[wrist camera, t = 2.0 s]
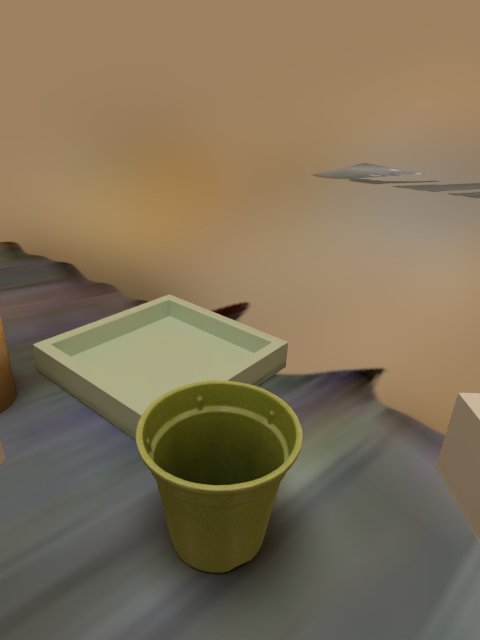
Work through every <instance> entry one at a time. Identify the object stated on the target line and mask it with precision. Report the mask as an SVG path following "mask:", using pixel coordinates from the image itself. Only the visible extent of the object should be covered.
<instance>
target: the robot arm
mask: <svg viewBox="0 0 480 640" xmlns="http://www.w3.org/2000/svg"><path fill="white" fill-rule="evenodd" d="M4 459H5V456H4V452H3V448H2V444H1V440H0V465H1V464H2V462H3V461H4ZM436 468H437V470H438V471H439V473H440V475H441V477H442V478H443V480H444V482H445V484H446V485H447V487H448V489H449V491H450V493H451V494H452V496H453V498H454V500H455V501H456V503H457V505H458V507H459V508H460V510H461V512H462V514H463V516H464V517H465V519H466V521H467V523H468V524H469V526H470V528H471V530H472V531H473V533H474V535H475V537H476V538H477V540H478V542H479V544H480V393H458V396H457V399H456V402H455V406H454V409H453V413H452V416H451V419H450V422H449V426H448V429H447V432H446V435H445V439H444V442H443V445H442V449H441V452H440V455H439V459H438V462H437V465H436Z"/></svg>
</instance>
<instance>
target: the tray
mask: <svg viewBox="0 0 480 640" xmlns="http://www.w3.org/2000/svg"><path fill="white" fill-rule="evenodd" d="M287 347H288V342H286V341H284V340H281V339H279V338H276V337H274V336H271V335H269V334H266V333H264V332H262V331H259V330H256V329H254V328H252V327H249V326H246V325H244V324H242V323H239V322H237V321H234V320H232V319H229V318H227V317H224V316H222V315H219V314H217V313H214V312H212V311H209V310H207V309H204V308H202V307H199V306H197V305H194V304H192V303H190V302H187V301H185V300H182V299H180V298H177V297H175V296H172V295H167V296H164V297H161V298H158V299H156V300H153V301H150V302H147V303H145V304H142V305H139V306H137V307H134V308H131V309H128V310H126V311H123V312H120V313H117V314H115V315H112V316H109V317H107V318H104V319H101V320H98V321H96V322H93V323H90V324H87V325H85V326H82V327H79V328H77V329H74V330H71V331H68V332H66V333H63V334H60V335H58V336H55V337H52V338H49V339H47V340H44V341H41V342H38V343H36V344H33V348H34V354H35V359H36V365H37V371H39V372H40V373H42V374H43V375H44V376H46V377H47V378H49V379H50V380H52V381H53V382H54V383H56V384H57V385H59V386H60V387H61V388H63V389H64V390H66V391H67V392H68V393H70V394H71V395H73V396H74V397H75V398H77V399H78V400H80V401H81V402H83V403H84V404H85V405H87V406H88V407H90V408H91V409H92V410H94V411H95V412H97V413H98V414H99V415H101V416H102V417H104V418H105V419H107V420H108V421H109V422H111V423H112V424H114V425H115V426H116V427H118V428H119V429H121V430H122V431H123V432H125V433H126V434H128V435H129V436H130V437H132V438H133V439H135V440H136V430H137V425H138V422H139V420H140V418H141V416H142V414H143V413H144V411H145V410H146V409H147V408H148V407H149V405H150V404H151V403H152V402H154V401H155V400H156V399H157V398H159V397H160V396H162V395H163V394H165V393H167V392H169V391H171V390H173V389H175V388H178V387H181V386H184V385H187V384H191V383H197V382H203V381H212V380H217V381H235V382H240V383H246V384H250V385H253V386H258V385H260V384H261V383H263V382H264V381H266V380H267V379H269V378H270V377H271V376H273V375H274V374H276V373H277V372H279V371H280V370H281V369H283V368H284V367H285V366H286V357H287Z"/></svg>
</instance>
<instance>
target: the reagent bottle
mask: <svg viewBox="0 0 480 640" xmlns="http://www.w3.org/2000/svg"><path fill="white" fill-rule="evenodd" d="M16 396H17V393H16V388H15V383H14V378H13V374H12V369H11V364H10V359H9V355H8V350H7V345H6V340H5V335H4V331H3V326H2V321H1V316H0V413H1V412H3V411H5V410H6V409H7V408H9V407H10V406H11V405H12V404H13V402H14V401H15V399H16Z"/></svg>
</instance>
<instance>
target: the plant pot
mask: <svg viewBox="0 0 480 640" xmlns="http://www.w3.org/2000/svg"><path fill="white" fill-rule="evenodd" d="M136 444H137V449H138V452H139V455H140V457H141V459H142V461H143V462H144V464H145V465H146V466H147V467H148V469H149V470H150V471H151V472H152V474H153V476H154V477H155V479H156V480H157V484H158V488H159V492H160V496H161V500H162V504H163V508H164V512H165V516H166V520H167V525H168V529H169V533H170V538H171V541H172V544H173V546H174V548H175V549H176V551H177V553H178V554H179V556H180V558H181V559H182V560H183V561H185V562H186V563H187V564H189V565H190V566H192V567H194V568H196V569H199V570H202V571H206V572H213V573H221V572H228V571H230V570H232V569H233V568H235V567H237V566H239V565H241V564H243V563H245V562H248V561H250V560H251V559H253V558H254V556H255V555H256V554H257V553H258V551H259V549H260V548H261V546H262V543H263V540H264V536H265V533H266V529H267V526H268V522H269V518H270V515H271V511H272V508H273V505H274V501H275V498H276V494H277V491H278V487H279V484H280V481H281V480H282V479H283V477H284V476H285V474H286V472H287V471H288V470H289V468H290V467H291V466H292V465H293V463H294V462H295V460H296V459H297V457H298V455H299V452H300V449H301V444H302V428H301V425H300V422H299V420H298V418H297V416H296V414H295V413H294V411H293V410H292V409H291V408H290V406H289V405H288V404H286V403H285V402H284V401H283V400H282V399H280V398H279V397H277V396H276V395H274V394H272V393H270V392H268V391H266V390H264V389H262V388H259V387H257V386H253V385H250V384H246V383H240V382H235V381H217V380H212V381H203V382H197V383H191V384H187V385H184V386H181V387H178V388H175V389H173V390H171V391H169V392H167V393H165V394H163V395H162V396H160V397H159V398H157V399H156V400H155V401H154V402H152V403H151V404H150V405H149V407H148V408H147V409H146V410H145V411H144V413H143V414H142V416H141V418H140V420H139V422H138V425H137V430H136Z"/></svg>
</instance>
